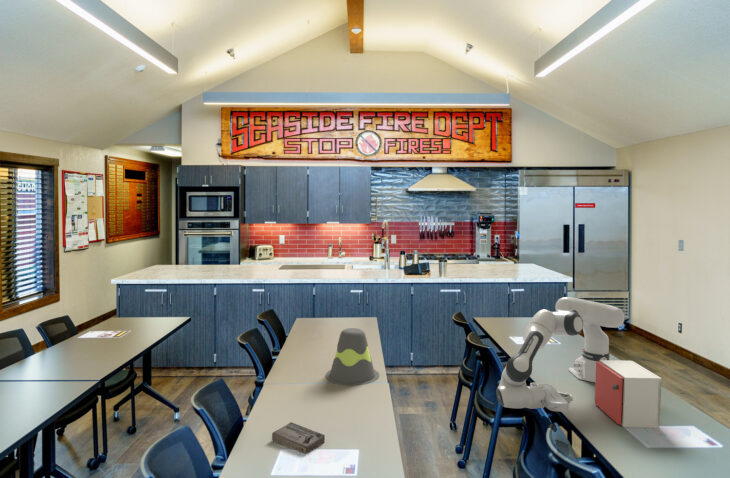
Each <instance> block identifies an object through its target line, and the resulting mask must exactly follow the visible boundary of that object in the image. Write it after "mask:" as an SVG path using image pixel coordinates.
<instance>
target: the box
mask: <svg viewBox="0 0 730 478" xmlns="http://www.w3.org/2000/svg"><path fill="white" fill-rule="evenodd" d="M271 434H272V435H271V440H272V441H274V442H277V443H279V444H281V445H283V446H286V447H288V448H289V449H293V450H294V451H298V452H300V453H301V454H304V455H307V454H309V453H311V451H313V450H314V449H316V448H318V447H320V446H321V445H323V444H324V443H325V436H326V435H325V434H323V433H320V432H318V431H315V430H312V429H309V428H307V427H305V426H303V425H299V424H296V423H294V422H292V421H291V422H289V423H287V424H286V425H283V426H282V427H280V428H279V429H277V430H275V431H273V432H272V433H271Z"/></svg>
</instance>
